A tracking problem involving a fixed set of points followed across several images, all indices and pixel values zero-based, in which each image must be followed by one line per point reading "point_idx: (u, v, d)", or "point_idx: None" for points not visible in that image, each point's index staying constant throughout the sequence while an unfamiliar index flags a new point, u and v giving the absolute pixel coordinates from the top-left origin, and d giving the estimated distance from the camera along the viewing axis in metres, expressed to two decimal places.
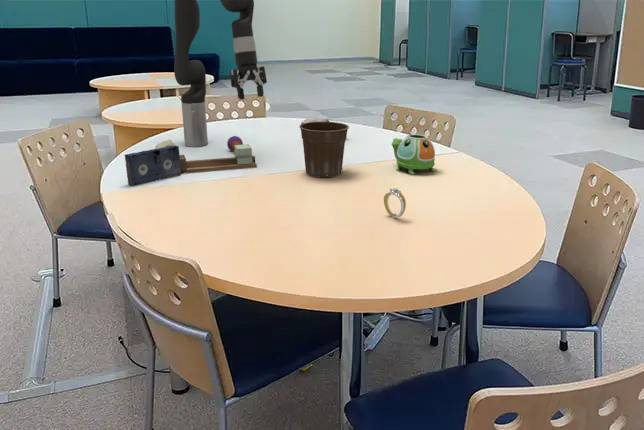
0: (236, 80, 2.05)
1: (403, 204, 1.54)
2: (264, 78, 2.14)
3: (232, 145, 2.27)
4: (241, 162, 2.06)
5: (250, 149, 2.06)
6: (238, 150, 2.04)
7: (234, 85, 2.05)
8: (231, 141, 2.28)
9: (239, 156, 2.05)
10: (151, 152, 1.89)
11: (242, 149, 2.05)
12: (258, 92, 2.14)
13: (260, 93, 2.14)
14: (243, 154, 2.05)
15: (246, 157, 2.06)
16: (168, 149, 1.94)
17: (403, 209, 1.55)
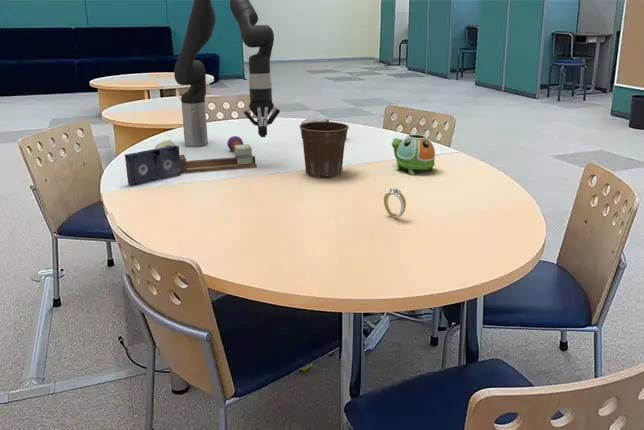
0: (252, 120, 2.04)
1: (403, 204, 1.54)
2: (271, 119, 2.06)
3: (232, 145, 2.27)
4: (241, 162, 2.06)
5: (250, 149, 2.06)
6: (238, 150, 2.04)
7: None
8: (231, 142, 2.28)
9: (239, 156, 2.05)
10: (151, 152, 1.89)
11: (242, 149, 2.05)
12: None
13: None
14: (243, 154, 2.05)
15: (246, 157, 2.06)
16: (168, 149, 1.94)
17: (403, 209, 1.55)
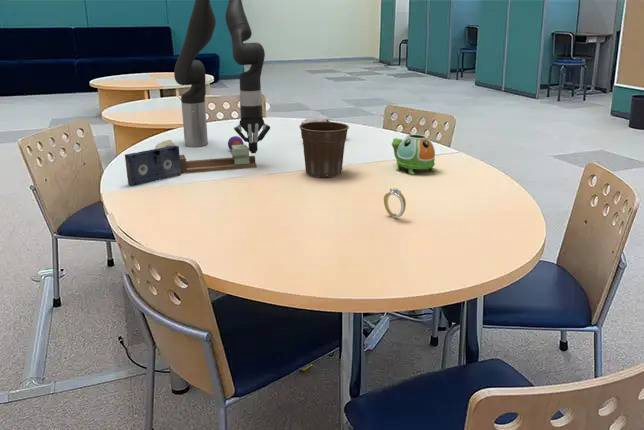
0: (242, 136, 2.05)
1: (403, 204, 1.54)
2: (262, 135, 2.07)
3: None
4: (238, 162, 2.06)
5: (247, 149, 2.05)
6: (235, 150, 2.04)
7: (244, 139, 2.07)
8: (232, 142, 2.28)
9: (236, 156, 2.05)
10: (151, 152, 1.89)
11: (239, 149, 2.05)
12: None
13: None
14: (240, 154, 2.05)
15: (243, 157, 2.06)
16: (168, 149, 1.94)
17: (403, 209, 1.55)
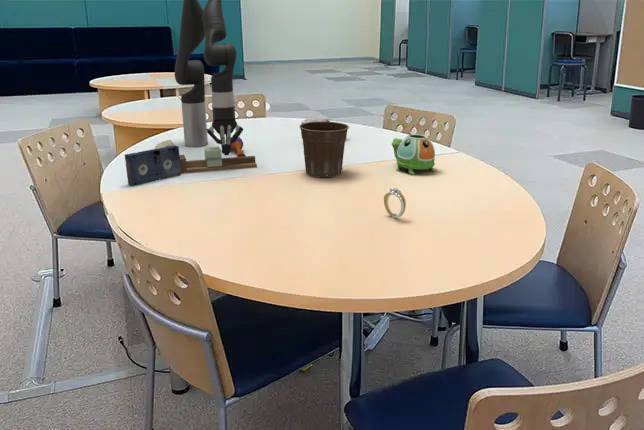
0: (215, 138, 2.03)
1: (403, 204, 1.54)
2: (235, 137, 2.05)
3: (232, 145, 2.26)
4: (211, 164, 2.03)
5: (220, 151, 2.03)
6: (207, 152, 2.01)
7: None
8: None
9: (208, 158, 2.02)
10: (151, 152, 1.90)
11: (211, 151, 2.02)
12: None
13: None
14: (212, 156, 2.02)
15: (216, 159, 2.03)
16: (168, 149, 1.94)
17: (403, 209, 1.55)
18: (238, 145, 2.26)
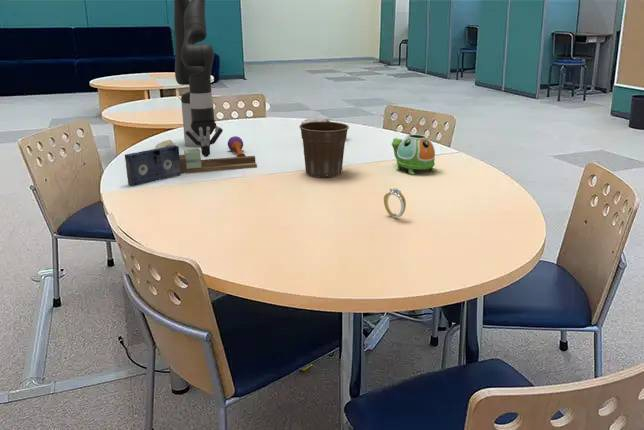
0: (194, 140, 2.01)
1: (403, 204, 1.54)
2: (214, 139, 2.03)
3: (232, 145, 2.26)
4: (190, 166, 2.01)
5: (199, 153, 2.01)
6: (186, 154, 1.99)
7: None
8: (232, 142, 2.28)
9: (187, 160, 2.00)
10: (151, 152, 1.89)
11: (190, 153, 2.00)
12: None
13: None
14: (192, 158, 2.00)
15: (195, 161, 2.01)
16: (168, 149, 1.94)
17: (403, 209, 1.55)
18: (238, 145, 2.25)
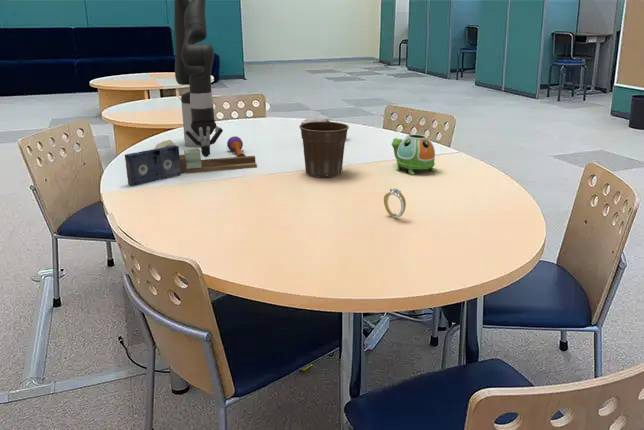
0: (194, 140, 2.01)
1: (403, 204, 1.54)
2: (214, 139, 2.03)
3: (232, 145, 2.26)
4: (190, 166, 2.01)
5: (199, 153, 2.01)
6: (186, 154, 1.99)
7: None
8: (231, 142, 2.28)
9: (187, 160, 2.00)
10: (151, 152, 1.89)
11: (190, 153, 2.00)
12: None
13: None
14: (192, 158, 2.00)
15: (195, 161, 2.01)
16: (168, 149, 1.94)
17: (403, 209, 1.55)
18: (238, 145, 2.25)
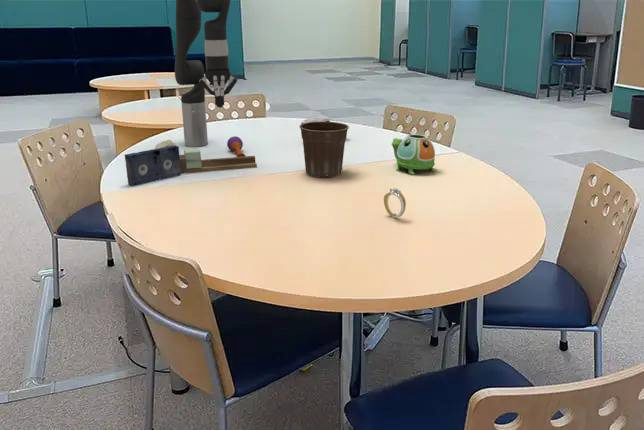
0: (208, 89, 1.97)
1: (403, 204, 1.54)
2: (228, 89, 1.99)
3: (232, 145, 2.26)
4: (190, 166, 2.01)
5: (199, 153, 2.01)
6: (186, 154, 1.99)
7: (209, 92, 1.98)
8: (231, 142, 2.28)
9: (187, 160, 2.00)
10: (151, 152, 1.89)
11: (190, 153, 2.00)
12: None
13: None
14: (192, 158, 2.00)
15: (195, 161, 2.01)
16: (168, 149, 1.94)
17: (403, 209, 1.55)
18: (238, 145, 2.25)
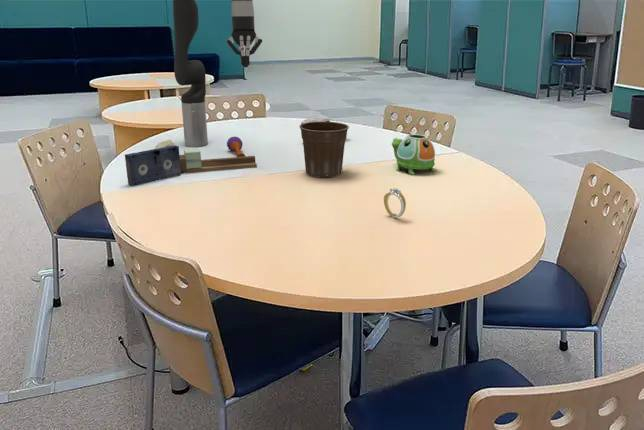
0: (234, 49, 2.05)
1: (403, 204, 1.54)
2: (254, 49, 2.07)
3: (232, 145, 2.26)
4: (190, 166, 2.01)
5: (199, 153, 2.01)
6: (186, 154, 1.99)
7: (235, 52, 2.06)
8: (231, 142, 2.27)
9: (187, 160, 2.00)
10: (151, 152, 1.89)
11: (190, 153, 2.00)
12: None
13: None
14: (192, 158, 2.00)
15: (195, 161, 2.01)
16: (168, 149, 1.94)
17: (403, 209, 1.55)
18: (237, 145, 2.25)
